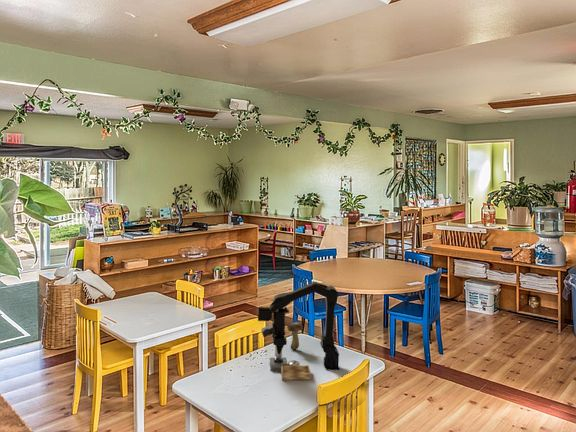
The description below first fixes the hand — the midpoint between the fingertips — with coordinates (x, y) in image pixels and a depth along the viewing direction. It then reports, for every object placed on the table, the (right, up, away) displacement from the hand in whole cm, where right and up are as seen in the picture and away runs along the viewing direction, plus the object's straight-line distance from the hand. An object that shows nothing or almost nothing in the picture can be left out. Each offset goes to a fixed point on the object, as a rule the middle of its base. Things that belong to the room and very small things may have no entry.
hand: (278, 352), depth 215 cm
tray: (+8, -8, -9) cm, 15 cm away
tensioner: (+3, -7, +1) cm, 8 cm away
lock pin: (0, -5, 0) cm, 5 cm away
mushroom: (+8, -6, +22) cm, 24 cm away
